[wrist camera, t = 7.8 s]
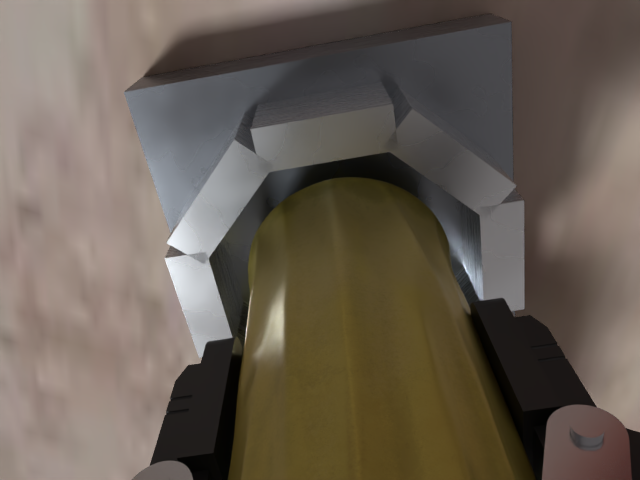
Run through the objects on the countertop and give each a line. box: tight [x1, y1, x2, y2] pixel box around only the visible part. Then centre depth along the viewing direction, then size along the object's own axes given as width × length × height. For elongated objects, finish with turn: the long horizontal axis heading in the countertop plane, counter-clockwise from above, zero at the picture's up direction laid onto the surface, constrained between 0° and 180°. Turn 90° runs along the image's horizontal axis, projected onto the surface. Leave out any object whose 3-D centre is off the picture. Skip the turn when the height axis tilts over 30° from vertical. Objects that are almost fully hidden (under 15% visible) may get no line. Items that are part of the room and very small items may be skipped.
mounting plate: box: [124, 14, 525, 358], centre depth 18 cm, size 20×11×10 cm, turn 10°
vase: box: [228, 177, 536, 480], centre depth 11 cm, size 6×6×14 cm
